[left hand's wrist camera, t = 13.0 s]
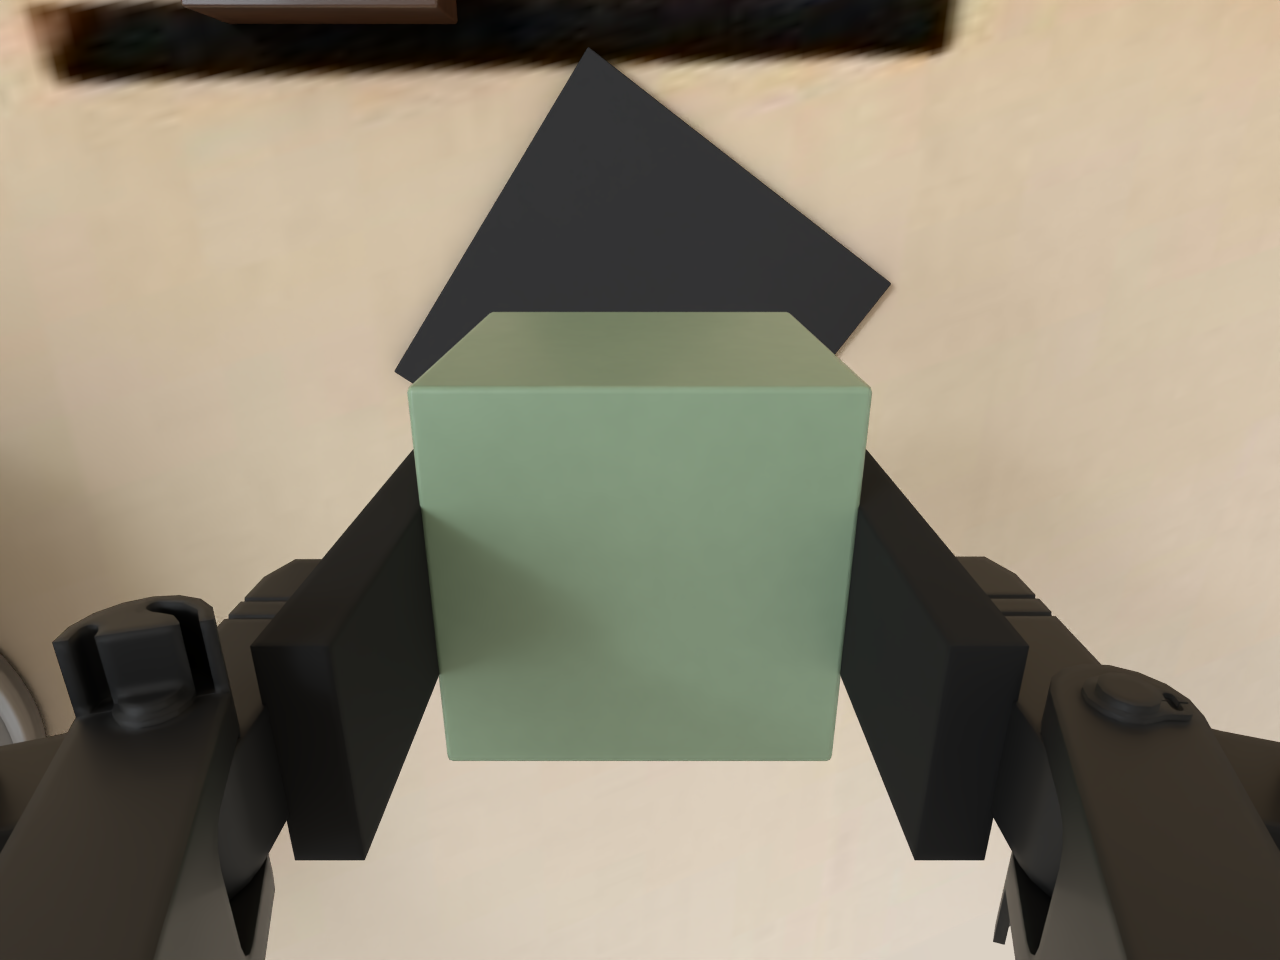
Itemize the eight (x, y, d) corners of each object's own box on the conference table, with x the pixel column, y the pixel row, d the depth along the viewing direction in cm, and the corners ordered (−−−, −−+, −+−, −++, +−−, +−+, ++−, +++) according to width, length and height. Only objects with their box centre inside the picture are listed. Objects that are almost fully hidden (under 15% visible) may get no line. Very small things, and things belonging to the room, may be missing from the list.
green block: (772, 578, 18) (833, 763, 12) (507, 578, 18) (447, 763, 12) (790, 311, 16) (874, 387, 10) (489, 311, 16) (404, 387, 10)
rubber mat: (676, 548, 34) (677, 552, 34) (396, 369, 32) (393, 371, 31) (888, 282, 30) (891, 283, 30) (588, 48, 27) (588, 46, 27)
